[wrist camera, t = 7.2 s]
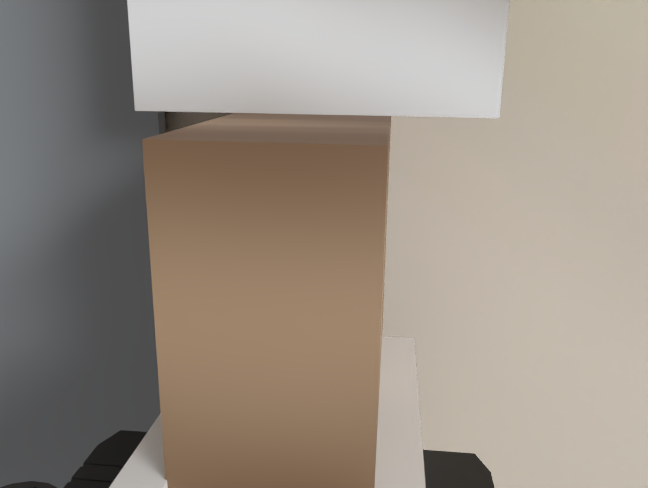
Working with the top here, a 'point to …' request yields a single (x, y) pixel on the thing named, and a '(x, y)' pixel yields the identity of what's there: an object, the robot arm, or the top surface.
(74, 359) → the tool mat
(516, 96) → the top surface
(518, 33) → the top surface
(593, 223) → the top surface
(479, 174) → the top surface
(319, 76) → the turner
